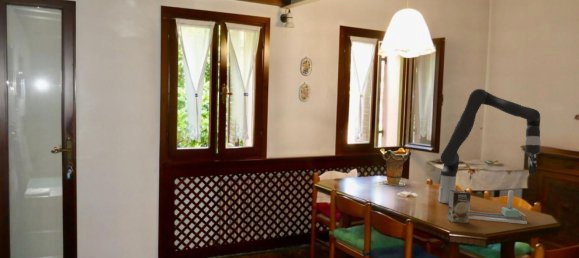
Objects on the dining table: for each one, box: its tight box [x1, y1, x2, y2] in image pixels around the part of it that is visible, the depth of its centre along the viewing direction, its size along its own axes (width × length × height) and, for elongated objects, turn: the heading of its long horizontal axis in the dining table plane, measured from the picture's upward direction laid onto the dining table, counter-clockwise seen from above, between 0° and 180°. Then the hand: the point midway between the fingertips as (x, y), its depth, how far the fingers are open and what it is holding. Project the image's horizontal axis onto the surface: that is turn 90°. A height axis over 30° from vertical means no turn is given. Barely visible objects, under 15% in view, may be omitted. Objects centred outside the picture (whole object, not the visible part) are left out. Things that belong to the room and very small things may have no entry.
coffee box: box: [446, 189, 472, 224], centre depth 239 cm, size 9×6×16 cm
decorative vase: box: [379, 147, 411, 187], centre depth 339 cm, size 21×23×28 cm
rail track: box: [468, 208, 528, 225], centre depth 248 cm, size 30×12×4 cm, turn 80°
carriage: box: [500, 190, 519, 218], centre depth 246 cm, size 7×7×14 cm
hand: (532, 173), depth 250 cm, fingers open, 8 cm apart
